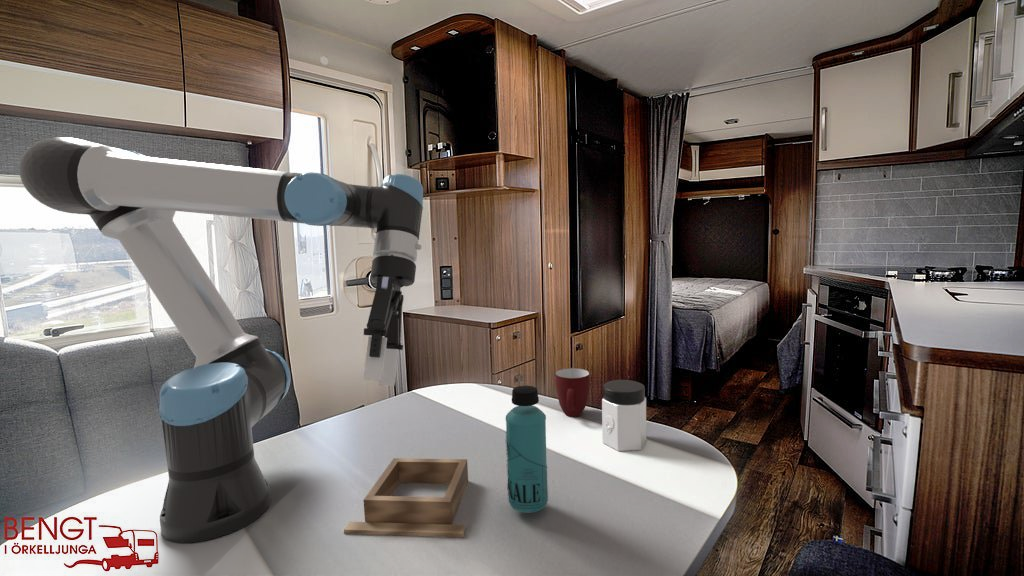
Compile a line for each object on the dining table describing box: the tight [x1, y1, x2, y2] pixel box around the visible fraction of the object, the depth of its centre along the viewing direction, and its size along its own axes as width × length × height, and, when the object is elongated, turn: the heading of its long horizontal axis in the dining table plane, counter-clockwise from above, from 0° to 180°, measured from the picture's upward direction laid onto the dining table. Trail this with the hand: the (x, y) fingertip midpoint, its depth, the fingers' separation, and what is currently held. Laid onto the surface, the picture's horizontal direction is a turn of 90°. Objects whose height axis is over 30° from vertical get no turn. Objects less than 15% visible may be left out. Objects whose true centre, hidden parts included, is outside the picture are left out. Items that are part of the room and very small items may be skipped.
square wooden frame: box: [343, 457, 469, 538], centre depth 78 cm, size 18×16×4 cm
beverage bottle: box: [505, 385, 549, 514], centre depth 74 cm, size 6×7×20 cm
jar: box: [601, 379, 647, 452], centre depth 98 cm, size 9×8×12 cm
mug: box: [554, 367, 591, 418], centre depth 113 cm, size 11×8×10 cm
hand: (380, 383), depth 79 cm, fingers open, 13 cm apart
